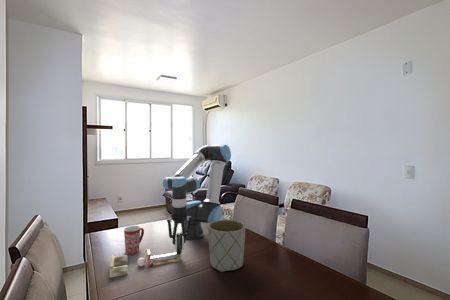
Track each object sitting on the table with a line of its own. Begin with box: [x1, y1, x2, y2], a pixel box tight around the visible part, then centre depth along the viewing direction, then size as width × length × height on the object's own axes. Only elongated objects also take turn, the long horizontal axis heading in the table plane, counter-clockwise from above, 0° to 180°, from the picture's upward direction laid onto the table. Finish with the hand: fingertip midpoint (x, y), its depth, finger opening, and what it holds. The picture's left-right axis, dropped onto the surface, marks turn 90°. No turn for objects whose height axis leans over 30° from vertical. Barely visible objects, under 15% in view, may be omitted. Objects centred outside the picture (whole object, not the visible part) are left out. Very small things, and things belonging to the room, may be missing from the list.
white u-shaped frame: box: [146, 232, 183, 268], centre depth 121 cm, size 18×6×13 cm, turn 113°
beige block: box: [109, 254, 128, 278], centre depth 112 cm, size 8×12×5 cm, turn 23°
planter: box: [207, 219, 246, 273], centre depth 118 cm, size 19×19×20 cm
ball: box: [136, 257, 147, 267], centre depth 116 cm, size 4×4×4 cm
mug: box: [123, 225, 145, 255], centre depth 134 cm, size 13×9×14 cm
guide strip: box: [151, 253, 182, 266], centre depth 121 cm, size 14×4×3 cm, turn 113°
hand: (179, 249), depth 124 cm, fingers closed on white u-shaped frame, 3 cm apart
